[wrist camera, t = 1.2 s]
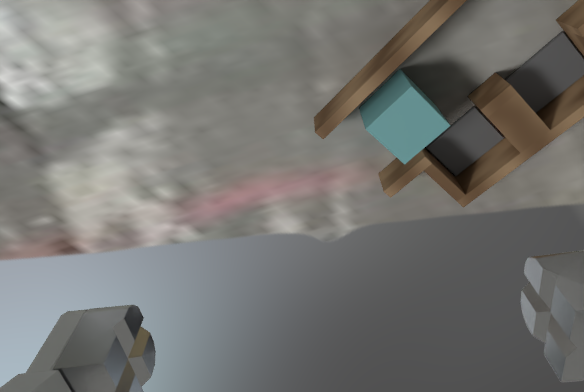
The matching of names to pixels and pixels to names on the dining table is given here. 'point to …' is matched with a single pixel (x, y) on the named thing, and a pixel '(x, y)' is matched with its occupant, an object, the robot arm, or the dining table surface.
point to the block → (402, 117)
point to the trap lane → (487, 97)
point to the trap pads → (529, 85)
